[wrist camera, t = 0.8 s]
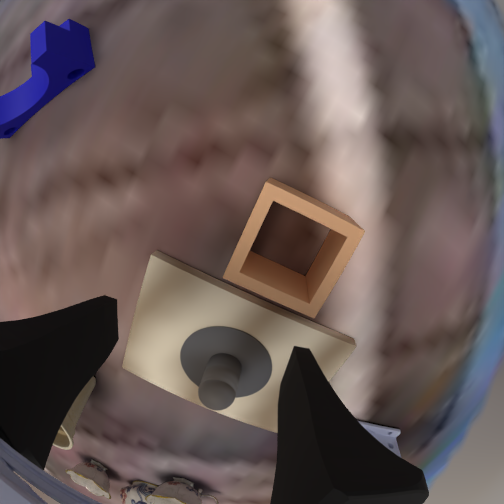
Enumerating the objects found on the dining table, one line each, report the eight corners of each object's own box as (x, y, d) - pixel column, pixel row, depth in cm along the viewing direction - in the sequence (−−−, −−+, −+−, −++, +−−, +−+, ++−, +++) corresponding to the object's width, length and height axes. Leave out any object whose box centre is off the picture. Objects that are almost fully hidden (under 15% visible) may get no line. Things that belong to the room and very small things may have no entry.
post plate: (354, 338, 21) (369, 387, 15) (281, 426, 24) (278, 471, 19) (157, 250, 20) (118, 279, 15) (126, 361, 24) (99, 399, 19)
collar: (349, 216, 18) (365, 231, 14) (309, 289, 20) (314, 318, 16) (270, 177, 18) (266, 181, 14) (234, 254, 20) (222, 277, 16)
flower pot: (109, 356, 24) (62, 415, 16) (110, 410, 27) (78, 462, 19) (40, 317, 24) (-11, 359, 16) (49, 375, 27) (12, 416, 19)
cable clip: (89, 29, 15) (44, 7, 10) (96, 67, 16) (46, 50, 11) (6, 101, 18) (-37, 99, 12) (11, 137, 19) (-35, 141, 13)
